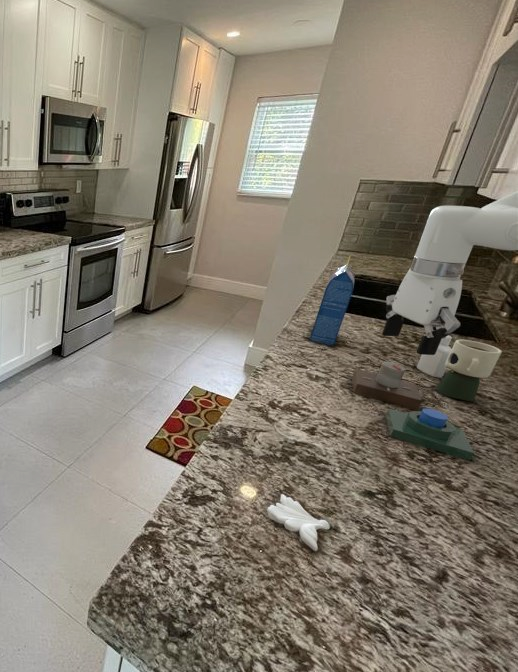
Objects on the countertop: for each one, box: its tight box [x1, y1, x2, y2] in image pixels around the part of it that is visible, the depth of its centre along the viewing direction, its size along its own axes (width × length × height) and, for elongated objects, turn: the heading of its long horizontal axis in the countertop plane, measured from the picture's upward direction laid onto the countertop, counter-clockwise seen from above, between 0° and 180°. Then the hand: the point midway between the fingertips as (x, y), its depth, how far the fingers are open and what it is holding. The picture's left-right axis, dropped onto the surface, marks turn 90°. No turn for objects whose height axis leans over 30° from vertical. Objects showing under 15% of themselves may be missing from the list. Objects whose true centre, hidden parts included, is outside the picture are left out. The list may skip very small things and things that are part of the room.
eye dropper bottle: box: [416, 335, 453, 378], centre depth 103 cm, size 4×6×12 cm
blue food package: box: [308, 256, 356, 347], centre depth 120 cm, size 6×12×25 cm, turn 140°
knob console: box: [351, 368, 423, 411], centre depth 94 cm, size 11×9×3 cm
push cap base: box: [384, 408, 475, 461], centre depth 79 cm, size 11×9×4 cm
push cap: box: [418, 408, 449, 428], centre depth 78 cm, size 4×4×2 cm
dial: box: [376, 361, 407, 388], centre depth 93 cm, size 4×4×5 cm
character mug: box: [436, 339, 503, 402], centre depth 93 cm, size 11×7×13 cm, turn 136°
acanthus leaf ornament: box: [266, 493, 331, 552], centre depth 59 cm, size 8×7×2 cm
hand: (406, 344), depth 90 cm, fingers open, 9 cm apart
